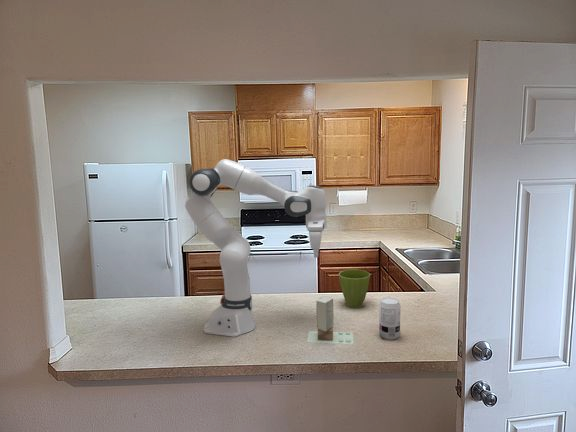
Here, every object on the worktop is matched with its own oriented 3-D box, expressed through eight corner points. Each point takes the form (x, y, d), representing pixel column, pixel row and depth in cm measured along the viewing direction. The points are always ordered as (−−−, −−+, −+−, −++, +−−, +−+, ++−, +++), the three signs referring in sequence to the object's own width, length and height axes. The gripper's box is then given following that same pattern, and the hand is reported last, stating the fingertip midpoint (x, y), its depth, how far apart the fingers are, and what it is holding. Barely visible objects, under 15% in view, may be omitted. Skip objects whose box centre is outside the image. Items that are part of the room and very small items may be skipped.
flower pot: (332, 305, 200) (332, 274, 197) (351, 297, 209) (351, 267, 207) (356, 313, 189) (356, 280, 186) (375, 304, 199) (376, 273, 196)
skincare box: (325, 323, 166) (324, 295, 164) (334, 326, 164) (333, 297, 162) (316, 329, 162) (315, 300, 160) (325, 332, 159) (325, 302, 157)
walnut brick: (317, 340, 161) (317, 330, 160) (318, 333, 167) (318, 324, 166) (332, 340, 160) (332, 331, 159) (333, 333, 166) (332, 324, 165)
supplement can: (375, 333, 169) (375, 299, 166) (392, 329, 171) (392, 296, 169) (386, 341, 161) (387, 306, 159) (404, 337, 164) (404, 302, 161)
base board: (307, 345, 159) (307, 340, 159) (309, 334, 169) (309, 329, 169) (353, 347, 157) (353, 342, 157) (352, 335, 167) (352, 330, 167)
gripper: (310, 218, 185) (310, 248, 187) (307, 227, 165) (307, 260, 167) (324, 218, 184) (324, 248, 186) (322, 227, 164) (323, 260, 166)
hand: (316, 254), depth 176 cm, fingers open, 8 cm apart
